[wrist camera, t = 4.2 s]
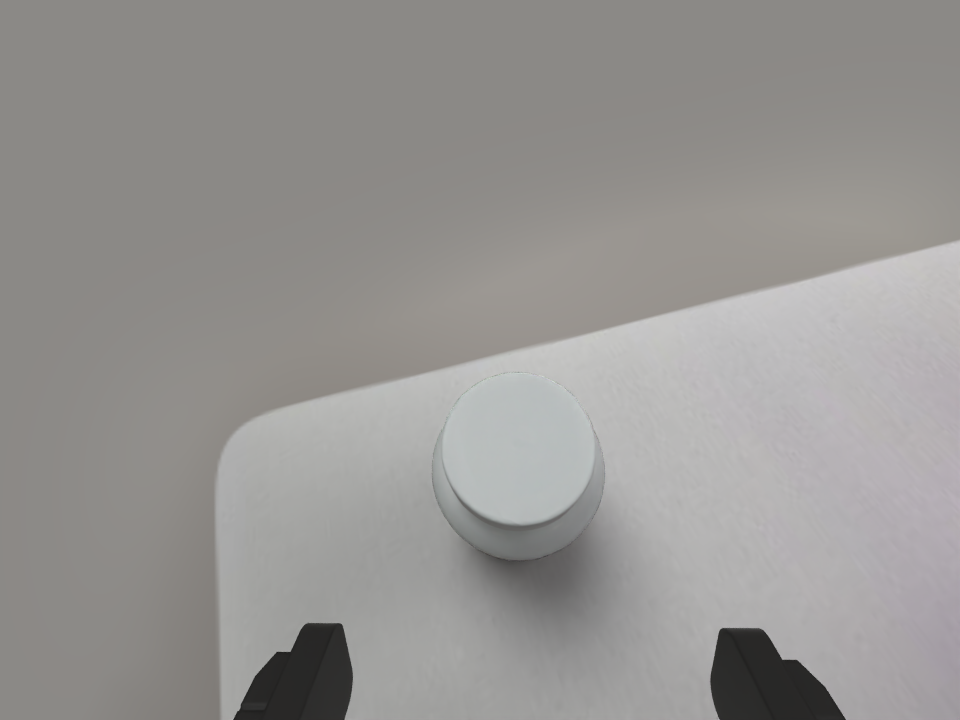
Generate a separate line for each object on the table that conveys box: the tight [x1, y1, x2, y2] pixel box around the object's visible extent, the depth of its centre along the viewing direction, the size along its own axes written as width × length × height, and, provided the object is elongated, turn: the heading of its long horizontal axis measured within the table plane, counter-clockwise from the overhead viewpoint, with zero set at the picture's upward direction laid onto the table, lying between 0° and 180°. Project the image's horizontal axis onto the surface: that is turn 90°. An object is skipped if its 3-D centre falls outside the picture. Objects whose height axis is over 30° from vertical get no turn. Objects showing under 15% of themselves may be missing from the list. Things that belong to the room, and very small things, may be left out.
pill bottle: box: [432, 372, 605, 561], centre depth 16 cm, size 5×5×10 cm
